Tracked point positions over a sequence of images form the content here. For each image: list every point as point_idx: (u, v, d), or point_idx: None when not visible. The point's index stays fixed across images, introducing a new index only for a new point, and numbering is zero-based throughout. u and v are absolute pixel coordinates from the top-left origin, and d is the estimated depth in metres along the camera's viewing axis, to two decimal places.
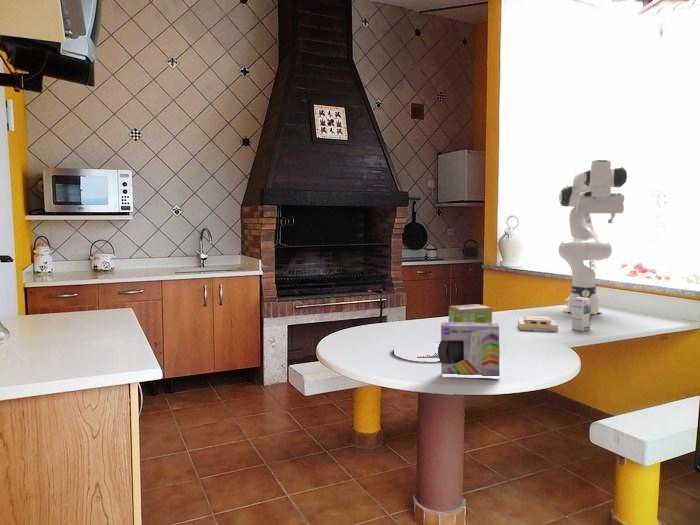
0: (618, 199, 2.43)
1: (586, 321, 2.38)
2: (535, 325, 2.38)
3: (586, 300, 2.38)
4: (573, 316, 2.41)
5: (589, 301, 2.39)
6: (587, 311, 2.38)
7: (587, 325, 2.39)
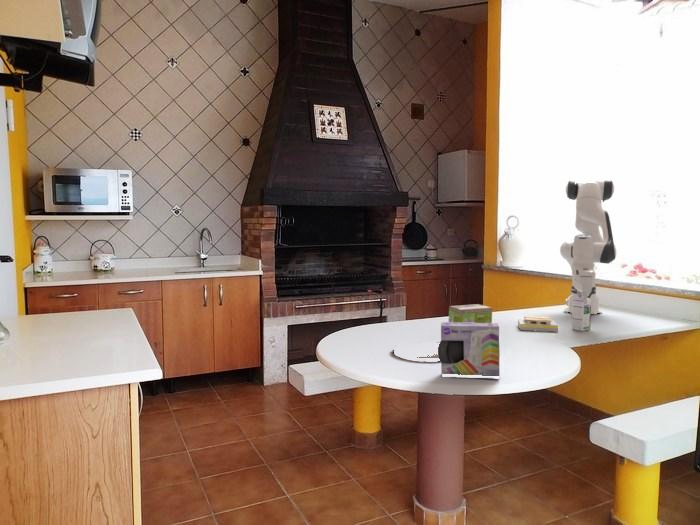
0: None
1: (586, 321, 2.38)
2: (535, 325, 2.38)
3: None
4: (573, 316, 2.41)
5: (589, 301, 2.39)
6: (587, 311, 2.38)
7: (587, 326, 2.39)
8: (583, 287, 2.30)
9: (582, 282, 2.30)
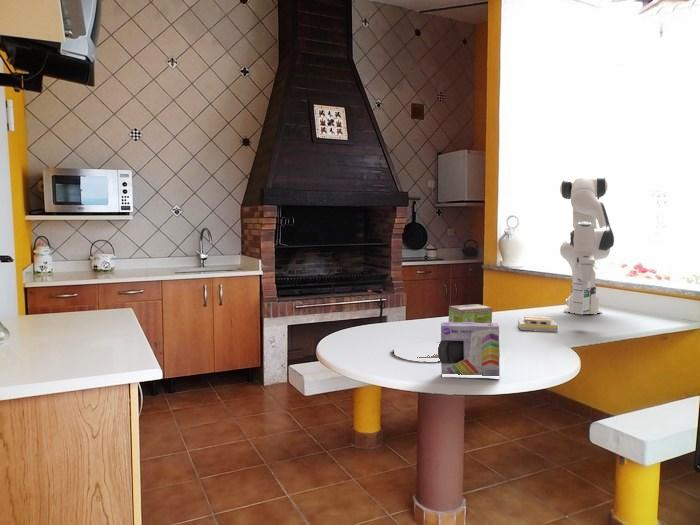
0: None
1: (586, 305, 2.38)
2: (535, 325, 2.38)
3: None
4: (573, 299, 2.41)
5: (589, 284, 2.38)
6: (587, 294, 2.38)
7: (587, 309, 2.39)
8: (583, 275, 2.30)
9: (582, 270, 2.30)
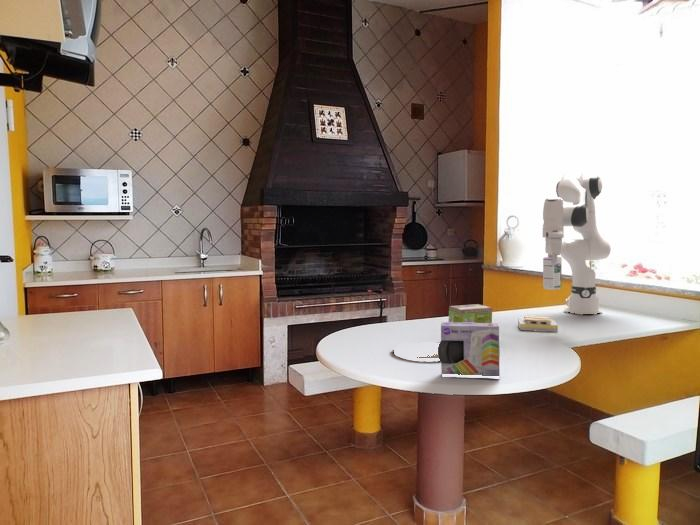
0: None
1: (557, 280, 2.38)
2: (535, 325, 2.38)
3: (557, 259, 2.37)
4: (544, 275, 2.41)
5: (560, 260, 2.39)
6: (558, 270, 2.38)
7: (558, 284, 2.39)
8: (552, 249, 2.30)
9: (551, 244, 2.30)
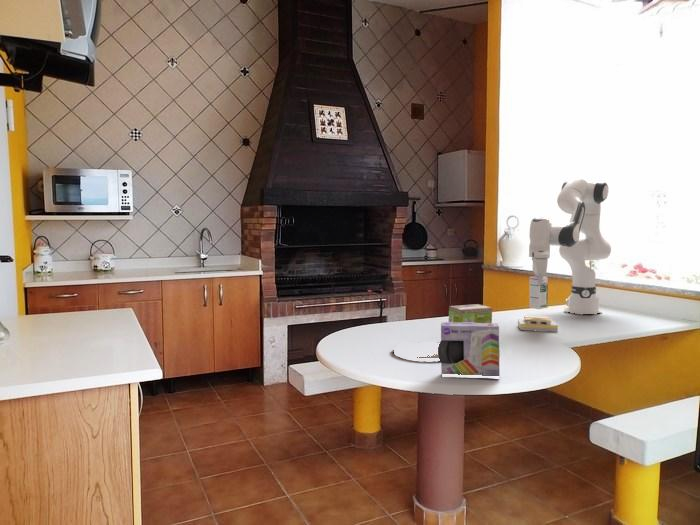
0: None
1: (543, 299, 2.40)
2: (535, 325, 2.38)
3: (543, 278, 2.39)
4: (530, 295, 2.42)
5: (546, 279, 2.40)
6: (544, 289, 2.40)
7: (544, 304, 2.40)
8: (538, 269, 2.32)
9: (537, 264, 2.32)
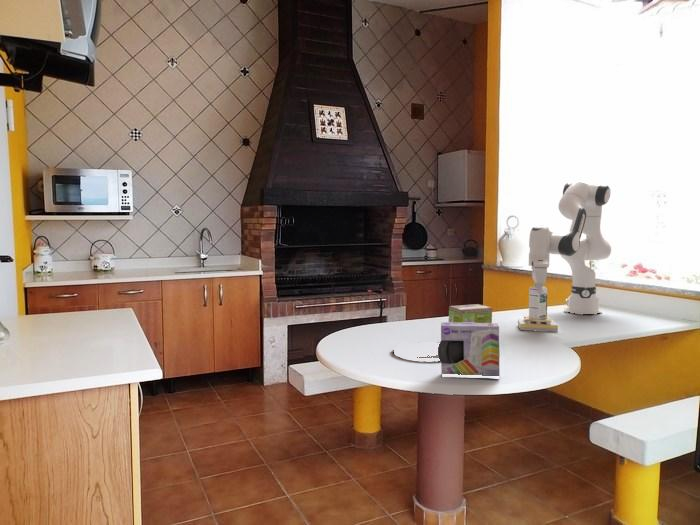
0: None
1: (543, 310, 2.40)
2: (535, 325, 2.38)
3: (542, 289, 2.40)
4: (530, 305, 2.43)
5: (545, 290, 2.41)
6: (543, 299, 2.40)
7: (543, 314, 2.41)
8: (537, 278, 2.32)
9: (536, 273, 2.32)
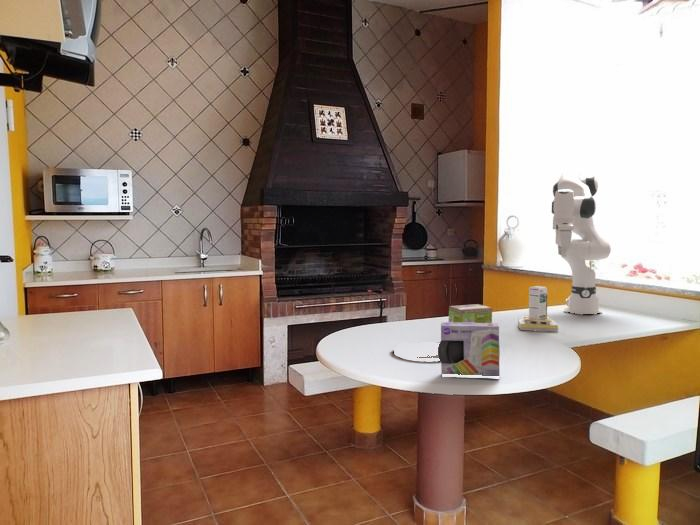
0: None
1: (543, 310, 2.40)
2: (535, 325, 2.38)
3: (542, 289, 2.40)
4: (530, 305, 2.43)
5: (545, 290, 2.41)
6: (543, 299, 2.40)
7: (543, 314, 2.41)
8: (562, 241, 2.32)
9: (561, 236, 2.33)
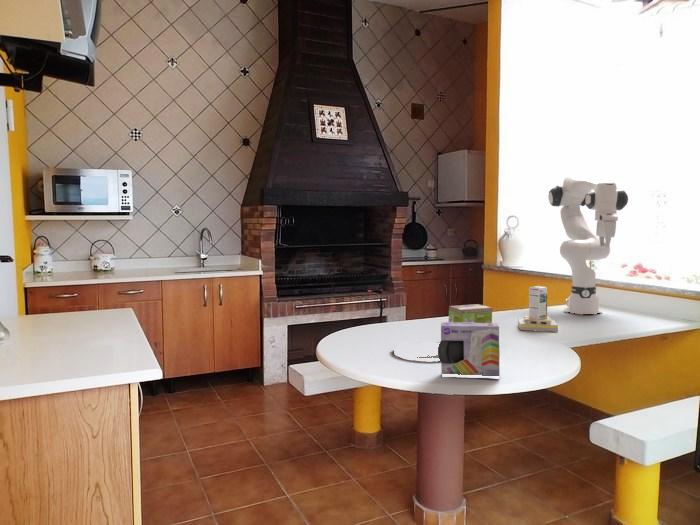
0: None
1: (543, 310, 2.40)
2: (535, 325, 2.38)
3: (542, 289, 2.40)
4: (530, 305, 2.43)
5: (545, 290, 2.41)
6: (543, 299, 2.40)
7: (543, 314, 2.41)
8: (607, 231, 2.35)
9: (606, 226, 2.35)
